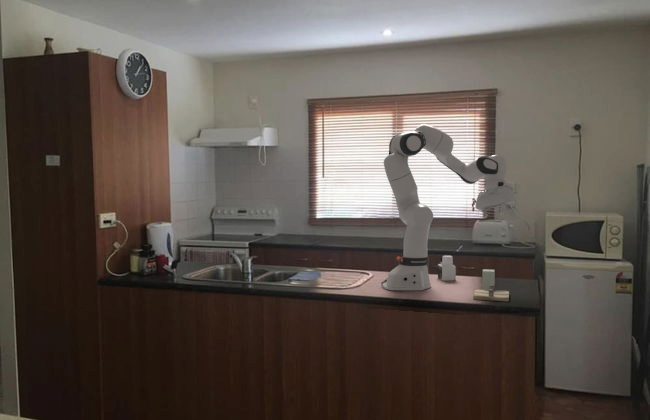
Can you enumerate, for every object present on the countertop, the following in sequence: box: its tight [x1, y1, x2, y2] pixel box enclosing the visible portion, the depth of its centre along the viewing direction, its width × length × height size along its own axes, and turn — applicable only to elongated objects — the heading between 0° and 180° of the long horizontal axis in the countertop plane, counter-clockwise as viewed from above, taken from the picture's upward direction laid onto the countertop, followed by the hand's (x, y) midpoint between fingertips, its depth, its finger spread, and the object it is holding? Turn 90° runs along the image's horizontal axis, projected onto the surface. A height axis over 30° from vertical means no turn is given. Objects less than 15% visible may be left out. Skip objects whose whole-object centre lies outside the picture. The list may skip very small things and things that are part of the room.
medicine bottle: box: [437, 254, 457, 282], centre depth 278 cm, size 7×7×12 cm
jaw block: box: [481, 268, 496, 290], centre depth 251 cm, size 5×5×9 cm
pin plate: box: [473, 284, 510, 302], centre depth 238 cm, size 14×14×4 cm
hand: (493, 215), depth 261 cm, fingers open, 8 cm apart
